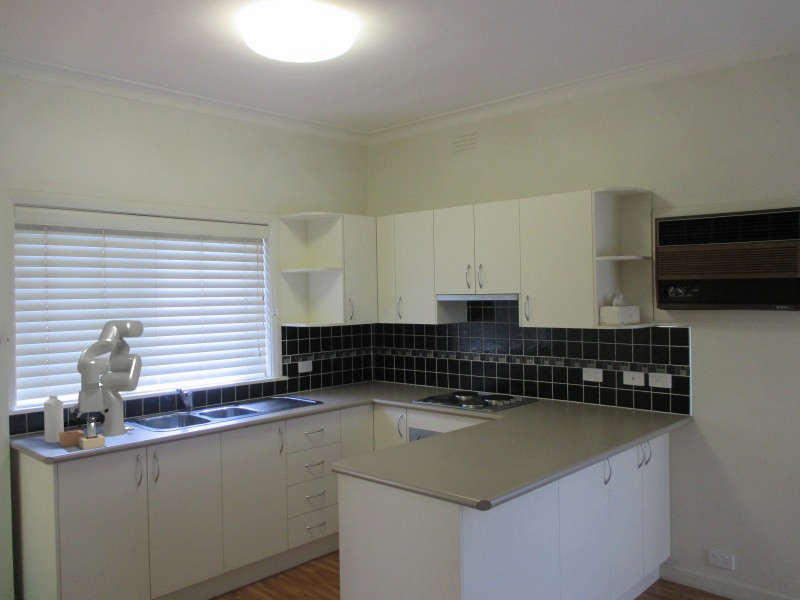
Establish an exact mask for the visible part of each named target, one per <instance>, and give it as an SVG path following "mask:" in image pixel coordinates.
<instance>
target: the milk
mask: <svg viewBox="0 0 800 600" xmlns="http://www.w3.org/2000/svg"><path fill="white" fill-rule="evenodd" d="M43 415H44V416H43V418H44V420H43V421H44V423H43V424H44V442H45V443H50V444H53V443H59V433H60V432H65V430H64V429H65V428H64V401H62V400H60V399H58V396H57V395H49V397H48V399H47V400H46V401H45V402H43Z"/></svg>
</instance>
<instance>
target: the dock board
mask: <svg viewBox="0 0 800 600" xmlns="http://www.w3.org/2000/svg"><path fill="white" fill-rule="evenodd" d="M100 434H101V433H99V434H96V438H92V439H88V435H87V436H86V435H85V432H84V431H83V430H81V429H78V430H77V429H76V430H69V431H64V432H60V433H59V442H57V444H58V445H59V446H60V447H62V449H63V450H64V451H65V452H67V453H74V452H75V453H76V452H81V451H82V452H83V451H88V450H95V449H102V448H107V445H106V444H105V443H106V440H105V439H106V437H103V436H102V435H100Z"/></svg>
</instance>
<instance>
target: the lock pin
mask: <svg viewBox="0 0 800 600" xmlns="http://www.w3.org/2000/svg"><path fill="white" fill-rule="evenodd" d="M97 420H98V417H97V416H90V417H85V421H86V424H87V426H86V427H87V431H86V432H87V436H88V439H92V438H96V435H97V433H96V432H97V431H96V429H97V427H96V421H97Z"/></svg>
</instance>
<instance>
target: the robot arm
mask: <svg viewBox="0 0 800 600" xmlns="http://www.w3.org/2000/svg"><path fill="white" fill-rule="evenodd" d="M144 329H145V328H144V324H143V322H142V321H141V320H132V319H130V320H129V319H124V320H123V319H121V320H119V319H116V320H108V321H107V322H105V324H104V326H103V328H102V331H101V333H100V335H99V338H98V340H97V341H95V342H94V343H92V344H91V345H89V346H87V347H86V348H85V349H84V350H83V351H82V353H81V354H80V356H79V359H78V361H77V365H76V369H77V372H78V373H79V374H80V379H81V380H80V383H81V385H80V386H81V387H80V388H81V390H79V391H78V398H77V403H76V404H74V405H73V406H71V407H70V408H69V412H70V413H71V414H72V415H73V416H75V419H76V420H75V421H76V422H75V423H76V424H75V425H77V427H80V428H81V427H82V426H81V425H82V418H81V416H82V415H83V414H89V413H97V412H98V413H100V416H99V417H100V424H101V425H102V433H99V434H100V435H102V436H103V437H105V438H111V437H112V438H113V437H120V436H124V435H127V434H128V431H134V430H135V426H134V425H133V426H125V424H124V423H125V421H124V420H125V419H124V418H125V417H124V399H123V396H122V395H121V394H120V393H121V392H122V393H123V392H125V393H127V392H133V391H135V390H136V389H137V387H138V384H139V380H140V376H141V371H142V366H143V362H142V361H143V360H142V357H141V356H140V355H139V354H137V353H130V350H131V347H130V345H129V343H128V342H127V341H126V340H125V339H124V338H138V337H139V338H140V337H141V336H142V335H143V334H144V333H143V332H144ZM108 353H109V358H108V359H107V358H101V357H100V356H102V355H105V354H108ZM97 357H100V358H97ZM100 375H101V376H100ZM76 409H77V412H75V411H76Z"/></svg>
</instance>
